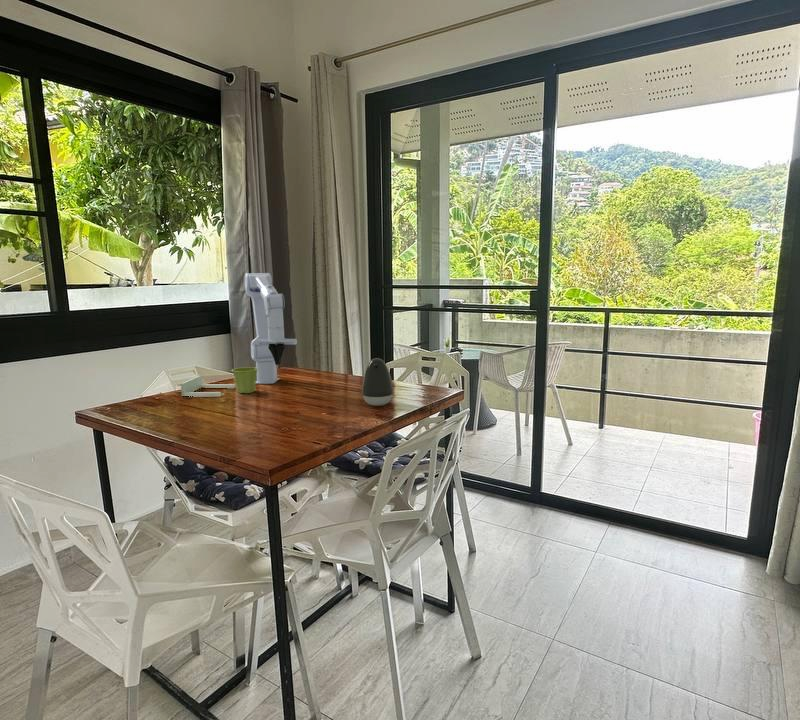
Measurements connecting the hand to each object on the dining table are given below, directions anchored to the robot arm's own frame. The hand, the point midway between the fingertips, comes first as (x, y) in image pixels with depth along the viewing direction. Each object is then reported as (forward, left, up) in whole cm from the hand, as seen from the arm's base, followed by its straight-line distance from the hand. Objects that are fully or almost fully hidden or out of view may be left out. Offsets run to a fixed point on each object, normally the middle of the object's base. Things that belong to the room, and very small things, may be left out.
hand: (277, 364), depth 188 cm
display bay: (0, -26, -10) cm, 27 cm away
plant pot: (0, -13, -10) cm, 16 cm away
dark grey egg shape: (+21, +38, -10) cm, 45 cm away
